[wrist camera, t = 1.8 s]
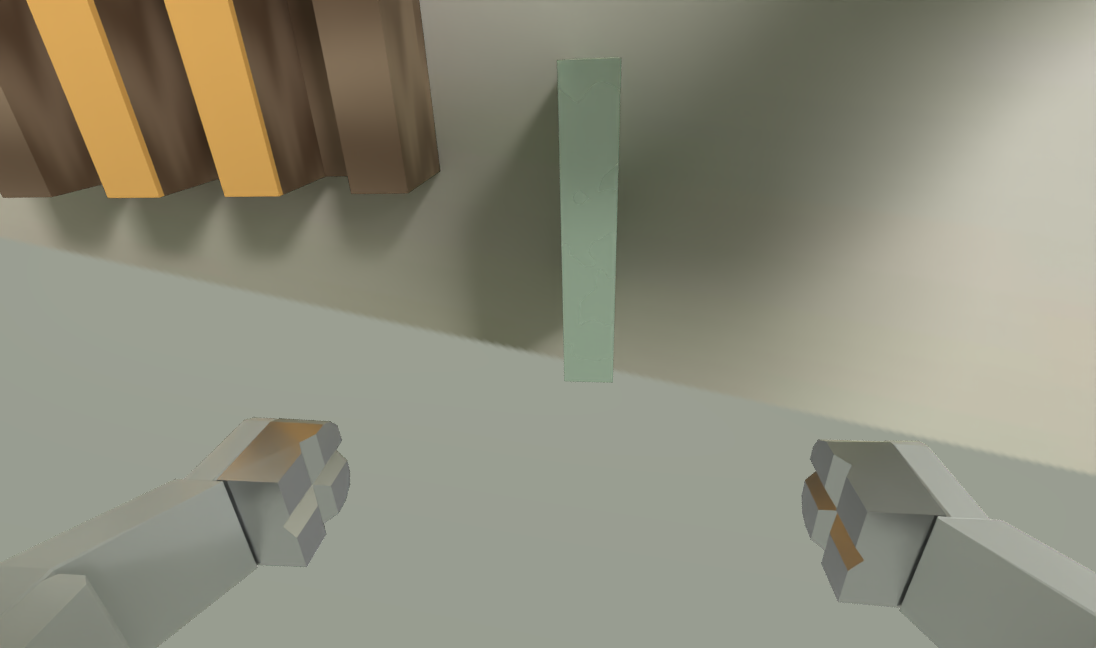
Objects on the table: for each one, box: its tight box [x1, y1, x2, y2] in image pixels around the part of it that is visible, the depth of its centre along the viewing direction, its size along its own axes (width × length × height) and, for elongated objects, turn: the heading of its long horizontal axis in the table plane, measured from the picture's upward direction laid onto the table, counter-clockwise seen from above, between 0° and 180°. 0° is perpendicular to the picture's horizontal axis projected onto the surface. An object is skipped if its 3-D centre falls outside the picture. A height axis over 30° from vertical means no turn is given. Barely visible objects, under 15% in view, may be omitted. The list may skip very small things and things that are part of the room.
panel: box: [557, 57, 621, 383], centre depth 23 cm, size 12×2×9 cm, turn 2°
